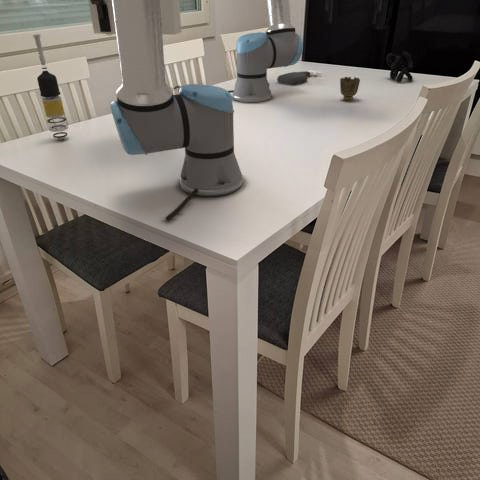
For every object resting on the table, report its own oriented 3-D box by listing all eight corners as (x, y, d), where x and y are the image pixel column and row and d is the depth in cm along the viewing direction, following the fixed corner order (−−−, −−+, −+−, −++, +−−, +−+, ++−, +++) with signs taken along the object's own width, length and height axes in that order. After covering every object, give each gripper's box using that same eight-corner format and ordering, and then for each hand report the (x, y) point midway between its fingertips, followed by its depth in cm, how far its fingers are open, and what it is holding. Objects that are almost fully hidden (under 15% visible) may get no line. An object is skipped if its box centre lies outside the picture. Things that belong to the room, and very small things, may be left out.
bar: (94, 33, 121) (88, 0, 117) (102, 31, 125) (97, -2, 121) (175, 34, 116) (172, 0, 112) (181, 32, 120) (178, -2, 116)
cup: (335, 101, 172) (337, 79, 168) (341, 96, 178) (343, 75, 173) (354, 103, 169) (357, 81, 165) (359, 98, 175) (362, 77, 170)
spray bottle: (274, 82, 200) (304, 73, 216) (295, 86, 194) (324, 76, 210) (275, 75, 198) (304, 67, 214) (295, 78, 192) (324, 70, 208)
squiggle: (400, 92, 202) (376, 71, 205) (417, 76, 202) (392, 56, 205) (405, 81, 191) (380, 59, 194) (423, 64, 191) (397, 42, 194)
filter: (71, 140, 139) (47, 35, 123) (52, 143, 137) (25, 36, 121) (69, 135, 143) (46, 33, 127) (51, 137, 141) (25, 34, 126)
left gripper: (90, -77, 102) (107, 35, 114) (124, -72, 116) (137, 26, 129) (60, -76, 103) (81, 34, 115) (98, -71, 118) (113, 26, 130)
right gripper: (405, -60, 127) (393, 22, 139) (319, -57, 135) (314, 21, 146) (404, -60, 121) (391, 25, 133) (313, -58, 129) (309, 24, 140)
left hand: (110, 30), depth 122 cm, fingers closed on bar, 5 cm apart
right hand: (351, 23), depth 139 cm, fingers open, 13 cm apart
